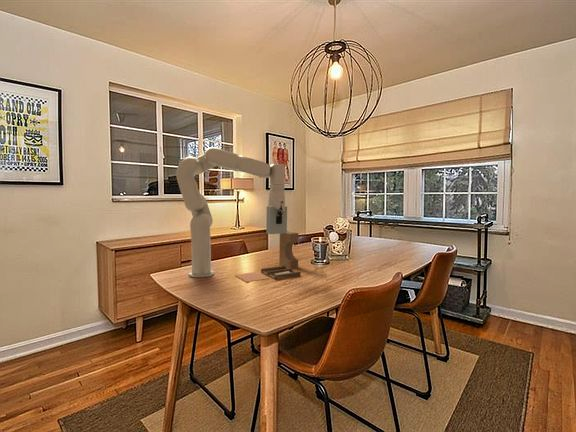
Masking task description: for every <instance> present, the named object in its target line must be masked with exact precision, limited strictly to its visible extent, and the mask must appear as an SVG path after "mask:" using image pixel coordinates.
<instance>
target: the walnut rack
mask: <svg viewBox="0 0 576 432" xmlns="http://www.w3.org/2000/svg"><path fill="white" fill-rule="evenodd" d="M286 271H289V272H292V273H287V274H280V275H275V276H274V274H276V273H281V272H286ZM260 274H262V275H264V276H265V277H267V278H271V279H272V280H274V281H278V280H285V279H289V278H290V279H291V278H296V277H297V278H298V277H301V271H294V270H293V269H292V268H287V267H286V266H280V265H279V266H273V267H265V268H261V269H260Z"/></svg>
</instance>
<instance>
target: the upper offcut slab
mask: <svg viewBox="0 0 576 432" xmlns="http://www.w3.org/2000/svg"><path fill="white" fill-rule="evenodd" d="M287 273H292V272H289V271H286V272H281V273H276V274H274V275H273V276H275V275H280V274H287Z"/></svg>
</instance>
